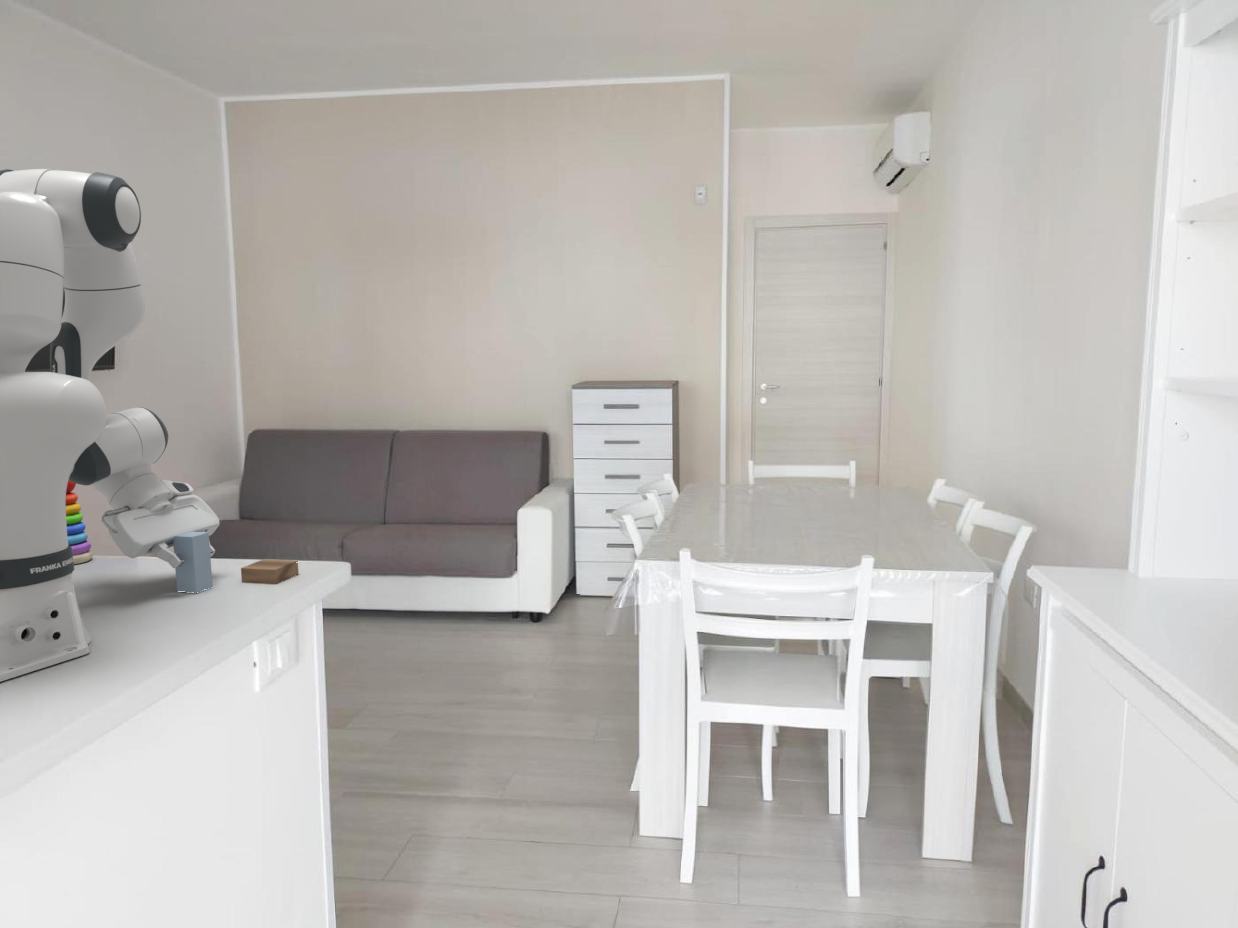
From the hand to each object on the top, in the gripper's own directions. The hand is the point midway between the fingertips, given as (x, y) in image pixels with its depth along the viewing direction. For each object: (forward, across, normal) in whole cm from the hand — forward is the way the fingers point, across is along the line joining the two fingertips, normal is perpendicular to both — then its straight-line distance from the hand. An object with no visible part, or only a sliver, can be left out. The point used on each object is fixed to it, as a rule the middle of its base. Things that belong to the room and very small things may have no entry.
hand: (195, 560), depth 155 cm
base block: (+9, +10, -1) cm, 14 cm away
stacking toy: (-25, +12, +33) cm, 43 cm away
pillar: (+3, 0, +4) cm, 5 cm away
